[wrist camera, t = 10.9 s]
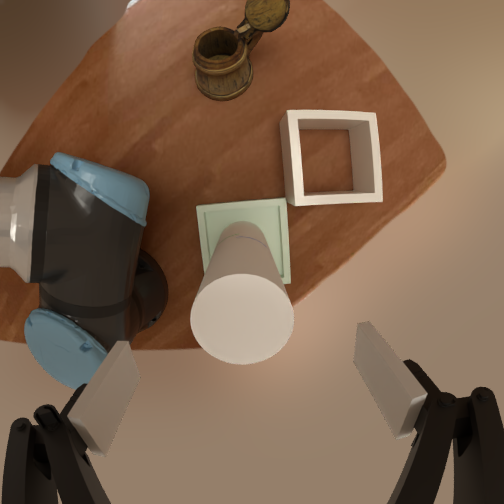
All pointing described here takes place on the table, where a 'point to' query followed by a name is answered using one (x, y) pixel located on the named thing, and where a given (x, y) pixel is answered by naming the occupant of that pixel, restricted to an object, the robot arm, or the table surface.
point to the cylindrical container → (242, 299)
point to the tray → (255, 211)
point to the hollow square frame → (362, 155)
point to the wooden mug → (234, 50)
